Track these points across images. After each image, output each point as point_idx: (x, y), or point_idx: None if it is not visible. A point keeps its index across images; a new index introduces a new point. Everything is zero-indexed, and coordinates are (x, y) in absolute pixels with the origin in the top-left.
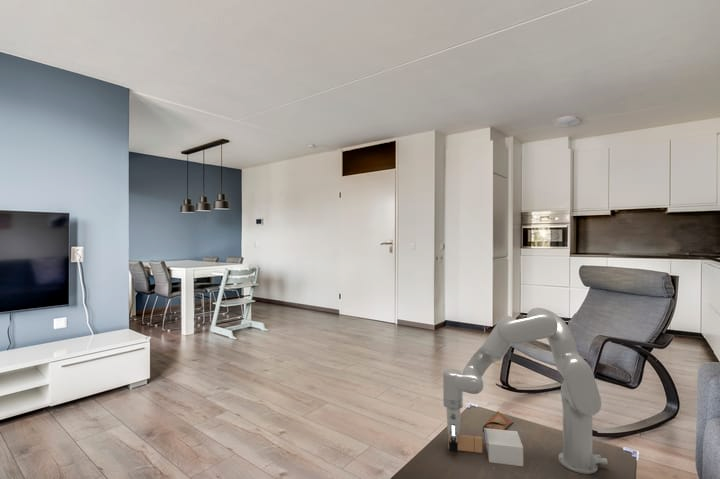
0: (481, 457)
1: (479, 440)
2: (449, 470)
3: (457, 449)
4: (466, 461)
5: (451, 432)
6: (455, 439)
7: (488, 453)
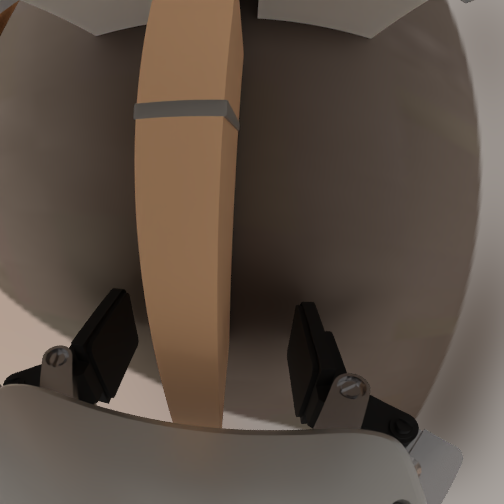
0: (309, 75)
1: (233, 29)
2: (444, 328)
3: (318, 315)
4: (382, 222)
5: (108, 381)
6: (417, 426)
7: (347, 7)
